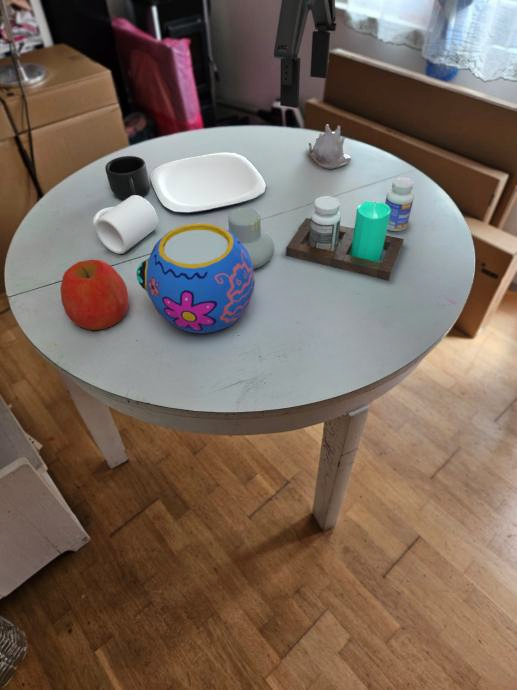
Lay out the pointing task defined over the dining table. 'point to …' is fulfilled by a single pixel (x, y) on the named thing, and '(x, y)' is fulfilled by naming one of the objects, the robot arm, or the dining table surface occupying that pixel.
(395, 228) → the pill bottle
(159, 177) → the plate
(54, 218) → the dining table surface
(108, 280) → the apple
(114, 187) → the mug
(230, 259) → the ceramic pot
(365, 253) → the candle
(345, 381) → the dining table surface
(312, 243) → the pill bottle
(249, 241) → the air freshener
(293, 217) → the dining table surface
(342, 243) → the holder
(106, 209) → the mug
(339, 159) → the seashell
